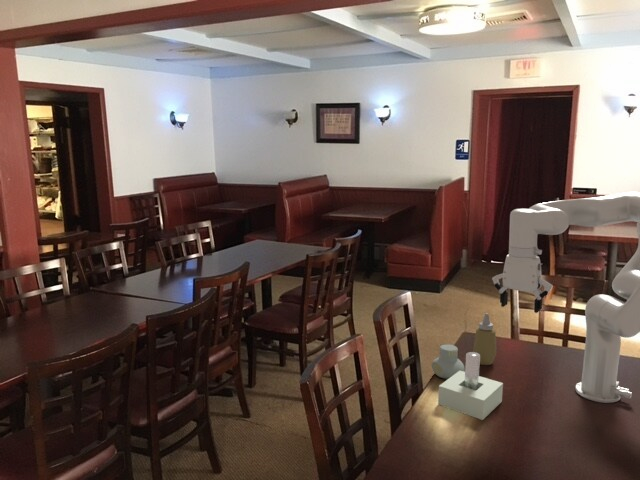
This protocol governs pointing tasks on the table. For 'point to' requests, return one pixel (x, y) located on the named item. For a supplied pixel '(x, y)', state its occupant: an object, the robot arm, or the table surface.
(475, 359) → the steel peg
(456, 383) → the socket block
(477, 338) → the squeeze bottle
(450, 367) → the air freshener
